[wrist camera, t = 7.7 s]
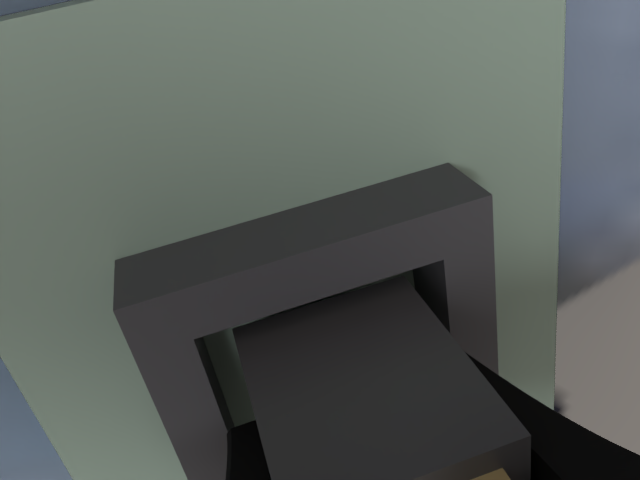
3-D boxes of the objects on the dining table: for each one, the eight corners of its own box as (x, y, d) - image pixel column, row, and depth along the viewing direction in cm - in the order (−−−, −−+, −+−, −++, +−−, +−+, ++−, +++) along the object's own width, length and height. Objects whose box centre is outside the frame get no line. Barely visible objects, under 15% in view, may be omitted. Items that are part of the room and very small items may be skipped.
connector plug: (270, 453, 15) (345, 730, 10) (231, 328, 13) (300, 593, 8) (418, 401, 15) (561, 635, 10) (403, 274, 13) (572, 486, 8)
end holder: (159, 597, 20) (164, 697, 17) (-152, 49, 11) (-239, 88, 8) (535, 452, 22) (589, 522, 19) (540, -104, 13) (641, -112, 10)
